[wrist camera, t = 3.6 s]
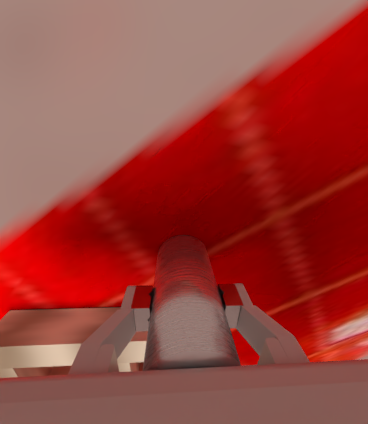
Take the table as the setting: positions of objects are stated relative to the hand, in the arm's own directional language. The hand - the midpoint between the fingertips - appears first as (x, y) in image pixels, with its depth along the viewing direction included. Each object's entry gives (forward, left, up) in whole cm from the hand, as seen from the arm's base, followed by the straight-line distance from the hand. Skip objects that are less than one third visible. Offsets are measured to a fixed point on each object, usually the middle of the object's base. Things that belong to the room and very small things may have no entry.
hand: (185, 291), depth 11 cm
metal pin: (0, 0, -4) cm, 4 cm away
